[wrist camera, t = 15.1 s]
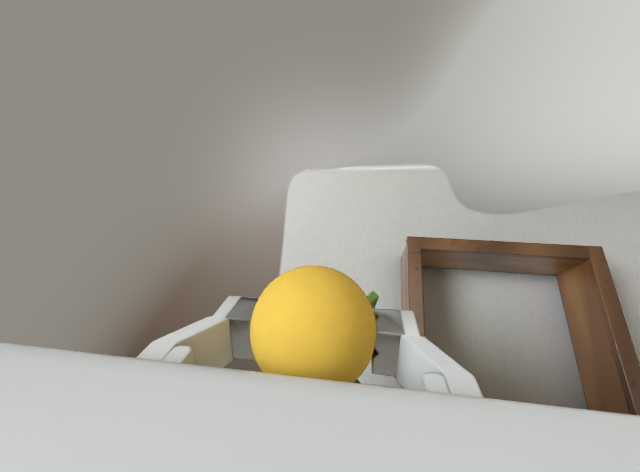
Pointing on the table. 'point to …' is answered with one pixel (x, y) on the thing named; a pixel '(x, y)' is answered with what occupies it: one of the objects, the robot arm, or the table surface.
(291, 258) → the table surface
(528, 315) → the table surface
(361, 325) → the corn plush toy
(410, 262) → the wooden box
